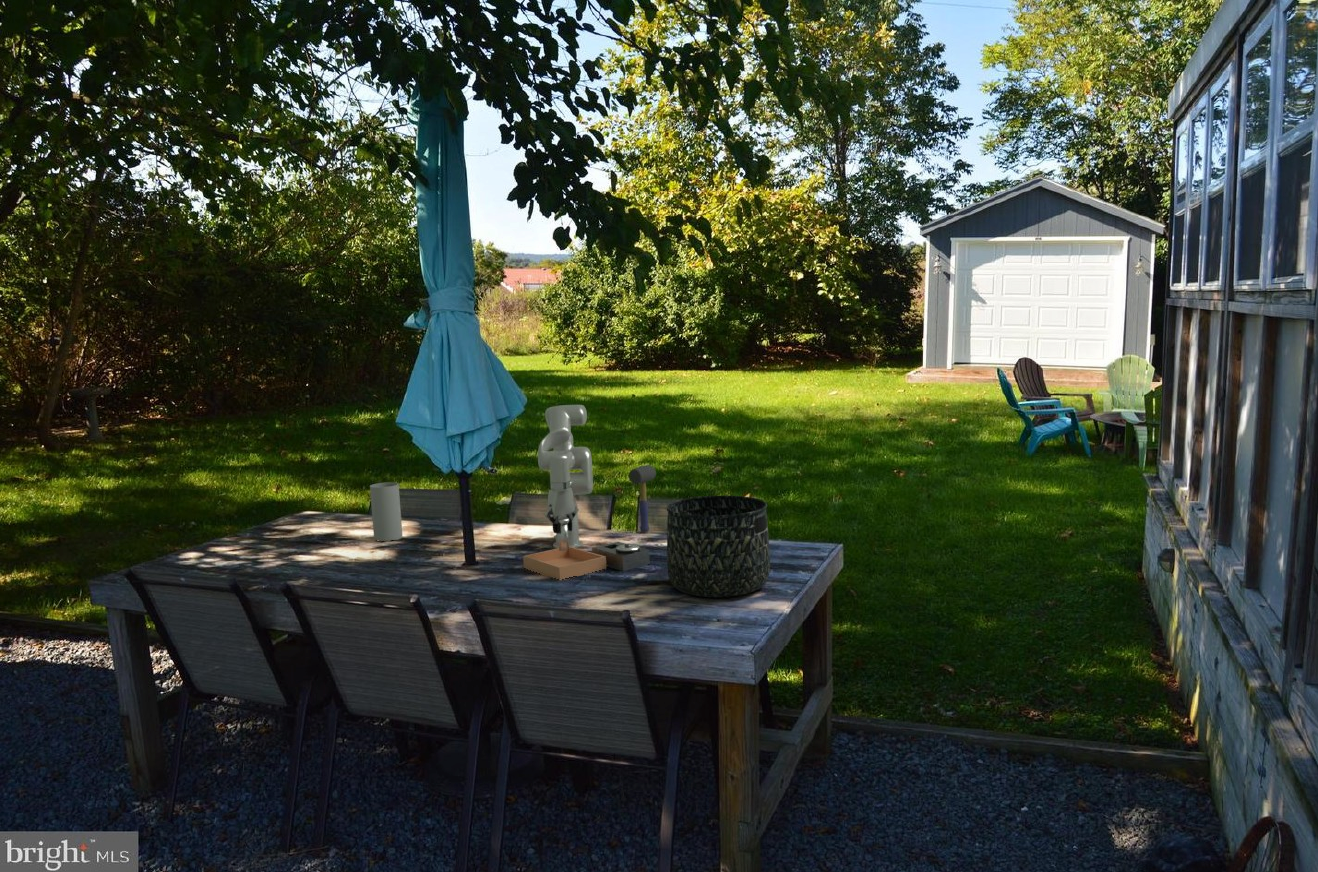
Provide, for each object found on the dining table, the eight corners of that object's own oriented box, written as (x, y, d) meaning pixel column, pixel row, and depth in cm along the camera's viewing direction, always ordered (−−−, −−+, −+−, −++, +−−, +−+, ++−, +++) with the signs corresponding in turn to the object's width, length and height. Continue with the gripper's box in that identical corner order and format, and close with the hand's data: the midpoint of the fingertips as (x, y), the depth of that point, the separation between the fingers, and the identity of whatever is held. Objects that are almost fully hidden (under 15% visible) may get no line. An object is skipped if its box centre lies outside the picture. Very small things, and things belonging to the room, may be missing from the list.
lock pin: (554, 550, 399) (552, 518, 398) (565, 547, 403) (564, 516, 401) (562, 552, 395) (560, 520, 394) (573, 549, 399) (571, 518, 397)
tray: (523, 568, 403) (523, 555, 403) (569, 557, 417) (568, 545, 416) (560, 580, 384) (559, 567, 383) (606, 569, 397) (605, 556, 396)
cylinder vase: (368, 541, 460) (364, 487, 457) (383, 535, 472) (379, 482, 469) (393, 542, 456) (388, 487, 453) (407, 536, 468) (403, 482, 465)
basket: (708, 568, 392) (706, 491, 388) (790, 582, 369) (788, 500, 365) (647, 591, 364) (643, 509, 360) (731, 608, 341) (728, 520, 337)
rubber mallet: (643, 536, 450) (641, 468, 446) (630, 534, 454) (627, 467, 450) (659, 530, 460) (657, 464, 456) (645, 528, 464) (643, 463, 460)
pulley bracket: (592, 562, 409) (591, 541, 408) (618, 556, 417) (617, 535, 416) (623, 571, 393) (622, 549, 392) (649, 564, 401) (648, 543, 400)
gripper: (573, 481, 404) (575, 526, 406) (536, 487, 393) (538, 534, 396) (584, 483, 398) (586, 529, 401) (547, 490, 388) (549, 536, 390)
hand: (562, 531), depth 398 cm, fingers closed on lock pin, 5 cm apart
